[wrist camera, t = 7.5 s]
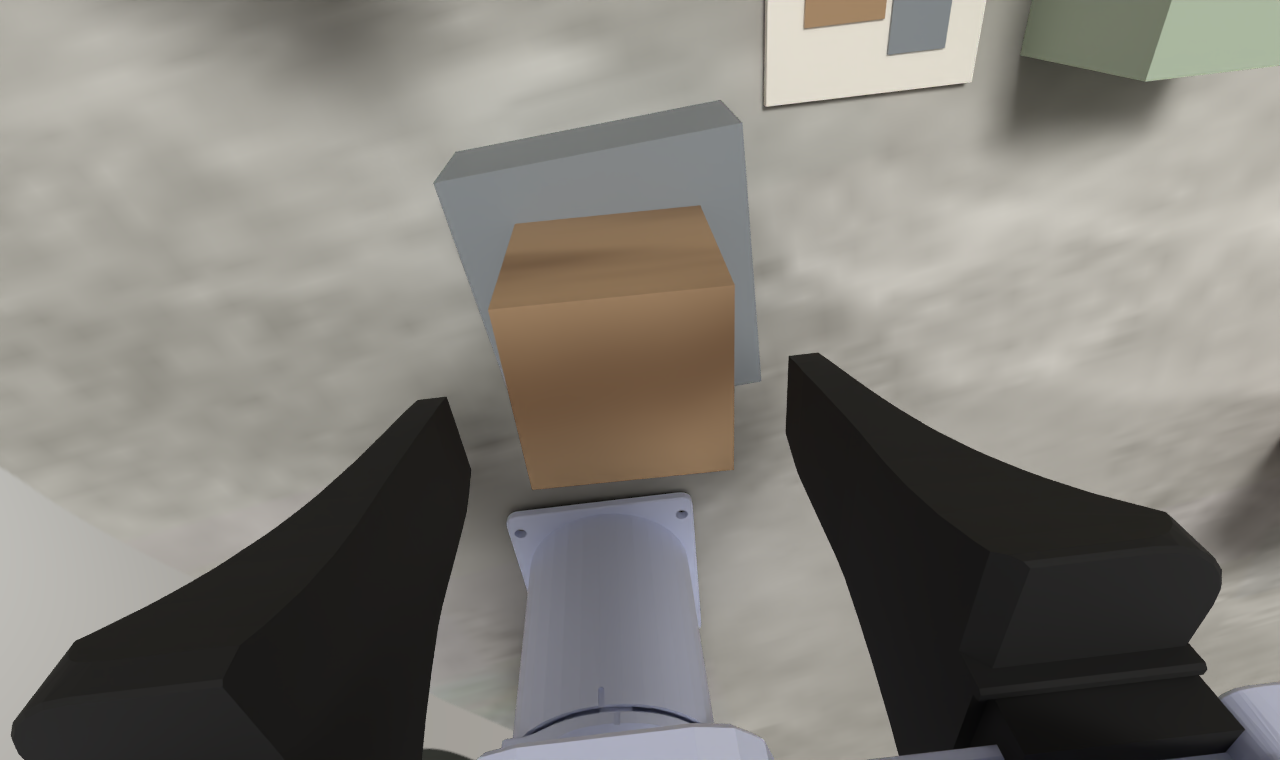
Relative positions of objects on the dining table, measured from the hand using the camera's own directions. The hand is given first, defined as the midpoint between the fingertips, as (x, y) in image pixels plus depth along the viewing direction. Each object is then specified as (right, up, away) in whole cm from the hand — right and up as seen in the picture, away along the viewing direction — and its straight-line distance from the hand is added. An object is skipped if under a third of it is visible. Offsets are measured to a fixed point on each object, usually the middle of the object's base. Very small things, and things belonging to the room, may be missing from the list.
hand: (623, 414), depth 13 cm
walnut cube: (0, +3, +5) cm, 6 cm away
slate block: (-1, +5, +8) cm, 9 cm away
